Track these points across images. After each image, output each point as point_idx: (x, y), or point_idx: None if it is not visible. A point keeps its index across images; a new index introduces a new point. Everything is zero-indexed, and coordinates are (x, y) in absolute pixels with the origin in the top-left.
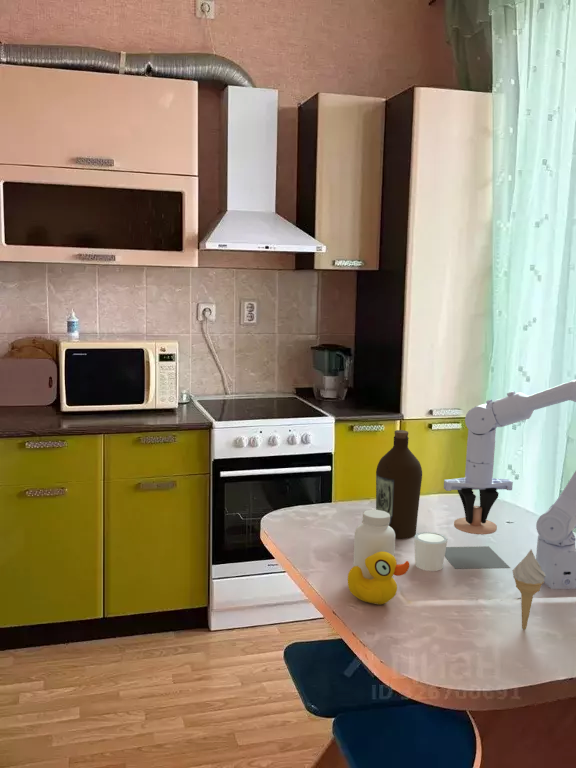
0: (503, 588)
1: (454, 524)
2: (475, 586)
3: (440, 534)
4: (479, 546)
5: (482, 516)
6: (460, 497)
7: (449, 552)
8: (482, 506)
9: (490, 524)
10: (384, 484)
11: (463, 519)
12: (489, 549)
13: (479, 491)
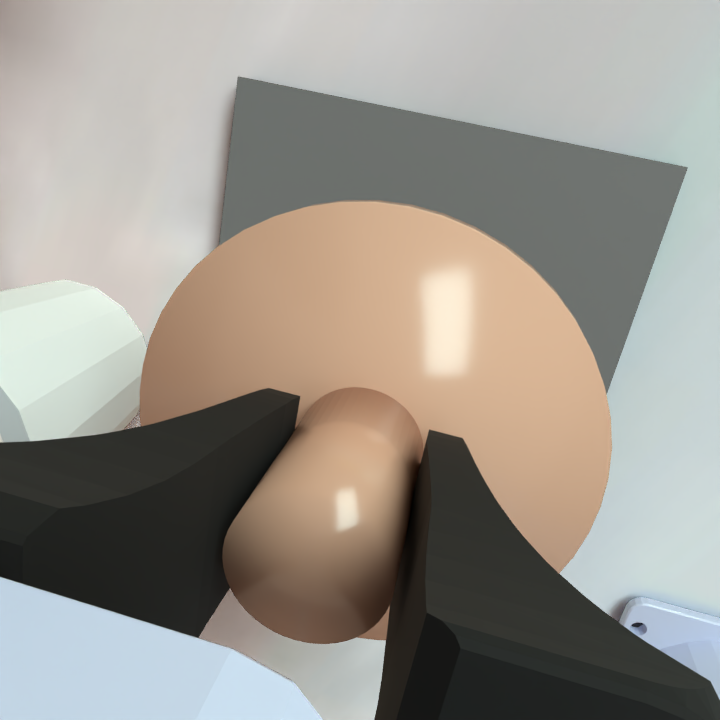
0: (361, 678)
1: (145, 365)
2: (232, 614)
3: (8, 412)
4: (600, 150)
5: (402, 552)
6: (23, 446)
7: (282, 207)
8: (403, 602)
9: (532, 500)
10: None
11: (310, 266)
12: (640, 234)
13: (421, 599)
